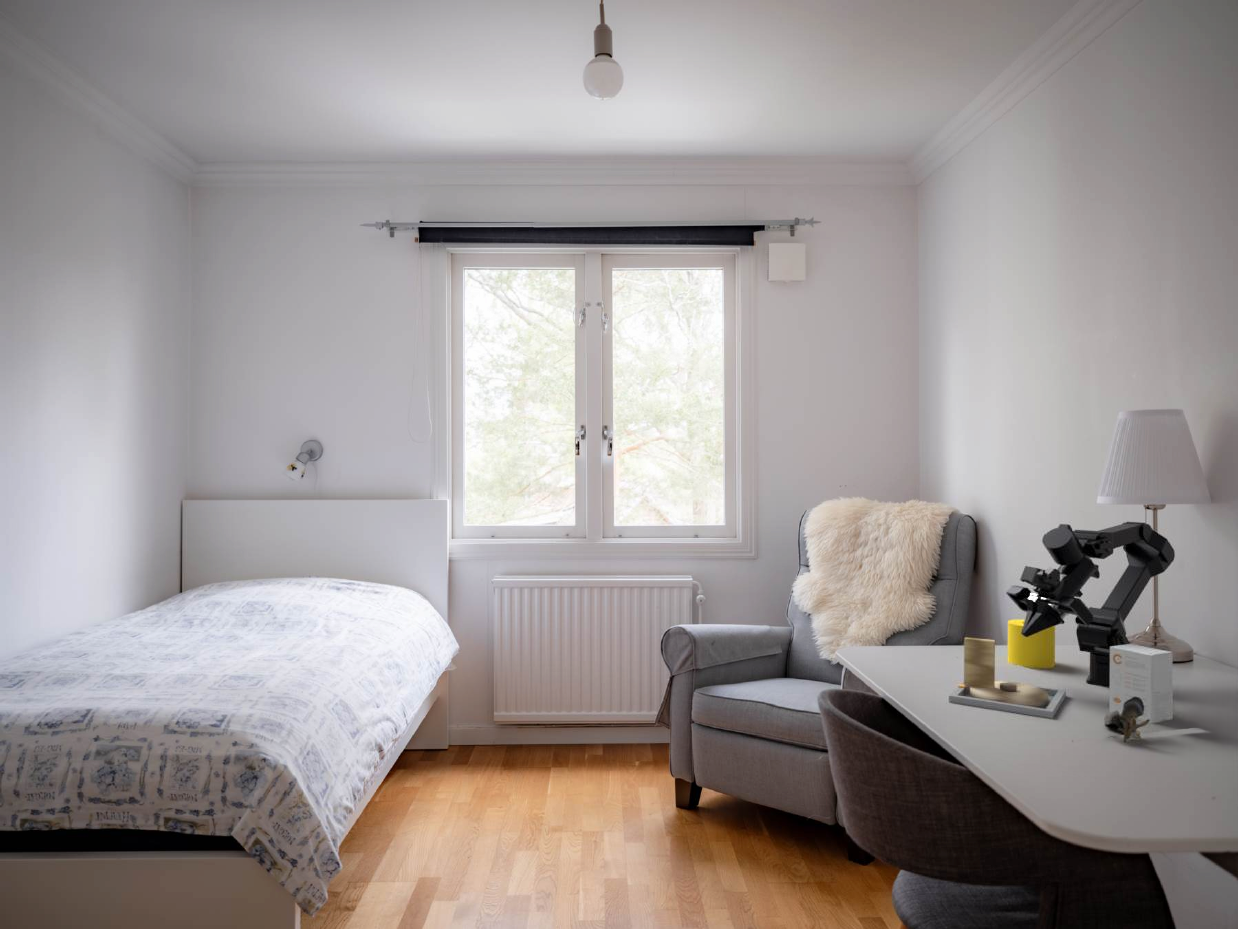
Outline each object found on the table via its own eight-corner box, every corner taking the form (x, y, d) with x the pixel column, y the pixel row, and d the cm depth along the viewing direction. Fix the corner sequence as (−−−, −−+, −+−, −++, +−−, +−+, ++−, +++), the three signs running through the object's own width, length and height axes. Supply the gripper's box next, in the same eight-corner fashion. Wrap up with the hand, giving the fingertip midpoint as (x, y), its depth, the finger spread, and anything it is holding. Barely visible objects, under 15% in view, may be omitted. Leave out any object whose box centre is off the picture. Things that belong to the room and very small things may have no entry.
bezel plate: (970, 685, 179) (970, 675, 179) (1065, 700, 168) (1065, 688, 168) (948, 706, 164) (948, 694, 164) (1052, 722, 153) (1052, 710, 153)
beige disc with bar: (1048, 694, 169) (1049, 639, 169) (1047, 712, 157) (1047, 653, 156) (968, 684, 176) (968, 631, 176) (960, 701, 164) (960, 644, 164)
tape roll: (1036, 670, 192) (1037, 629, 192) (998, 661, 201) (998, 621, 201) (1064, 665, 197) (1064, 625, 197) (1025, 656, 206) (1025, 618, 206)
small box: (1173, 723, 154) (1174, 651, 154) (1151, 728, 151) (1152, 655, 151) (1129, 711, 161) (1130, 643, 161) (1108, 715, 158) (1108, 646, 158)
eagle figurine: (1164, 740, 141) (1155, 716, 149) (1138, 704, 141) (1130, 681, 149) (1119, 758, 144) (1113, 733, 152) (1094, 722, 144) (1089, 699, 152)
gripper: (1013, 548, 183) (969, 601, 180) (1081, 558, 165) (1033, 617, 162) (1044, 582, 185) (1001, 636, 182) (1114, 596, 167) (1067, 655, 164)
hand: (1023, 635), depth 173 cm, fingers closed
